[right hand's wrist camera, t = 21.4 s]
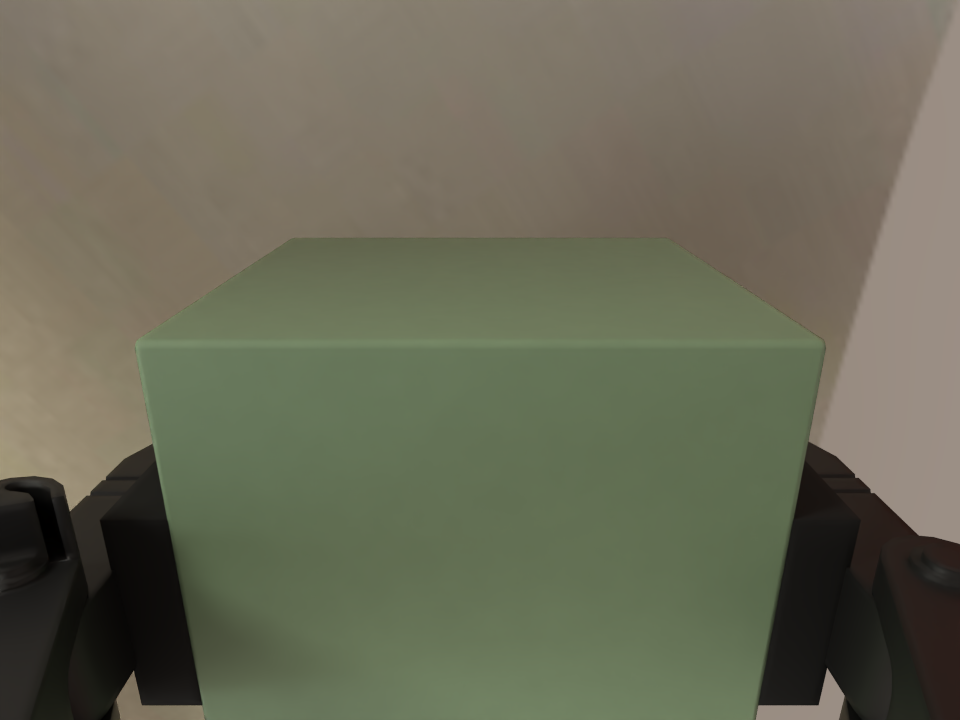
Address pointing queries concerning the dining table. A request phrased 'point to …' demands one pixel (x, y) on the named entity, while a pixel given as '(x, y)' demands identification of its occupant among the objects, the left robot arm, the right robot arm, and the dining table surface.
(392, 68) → the dining table surface
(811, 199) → the dining table surface
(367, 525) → the sage green cube
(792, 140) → the dining table surface
